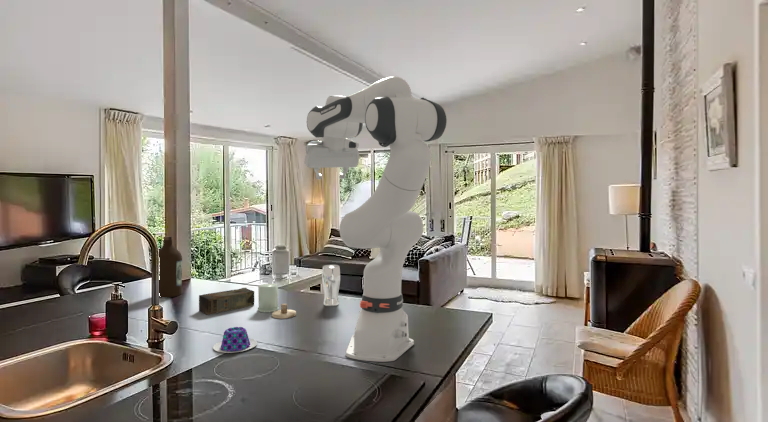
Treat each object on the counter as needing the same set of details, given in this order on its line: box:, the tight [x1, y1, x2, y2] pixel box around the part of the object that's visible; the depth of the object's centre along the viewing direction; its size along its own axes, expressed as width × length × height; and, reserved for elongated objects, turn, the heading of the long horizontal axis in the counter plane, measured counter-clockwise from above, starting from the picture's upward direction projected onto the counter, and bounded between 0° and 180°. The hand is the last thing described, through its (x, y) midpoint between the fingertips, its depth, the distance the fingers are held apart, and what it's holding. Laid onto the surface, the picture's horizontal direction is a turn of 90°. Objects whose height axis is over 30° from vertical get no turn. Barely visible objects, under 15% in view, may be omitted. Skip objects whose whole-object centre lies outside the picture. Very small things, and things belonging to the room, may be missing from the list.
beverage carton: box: [198, 287, 255, 316], centre depth 168 cm, size 8×19×7 cm, turn 136°
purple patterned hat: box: [212, 326, 258, 354], centre depth 127 cm, size 12×12×5 cm
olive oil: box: [158, 235, 183, 298], centre depth 188 cm, size 11×11×25 cm
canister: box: [257, 283, 280, 313], centre depth 165 cm, size 8×8×9 cm
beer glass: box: [321, 264, 341, 307], centre depth 173 cm, size 7×7×15 cm
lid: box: [271, 303, 297, 320], centre depth 158 cm, size 8×8×4 cm
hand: (330, 178), depth 163 cm, fingers open, 8 cm apart
